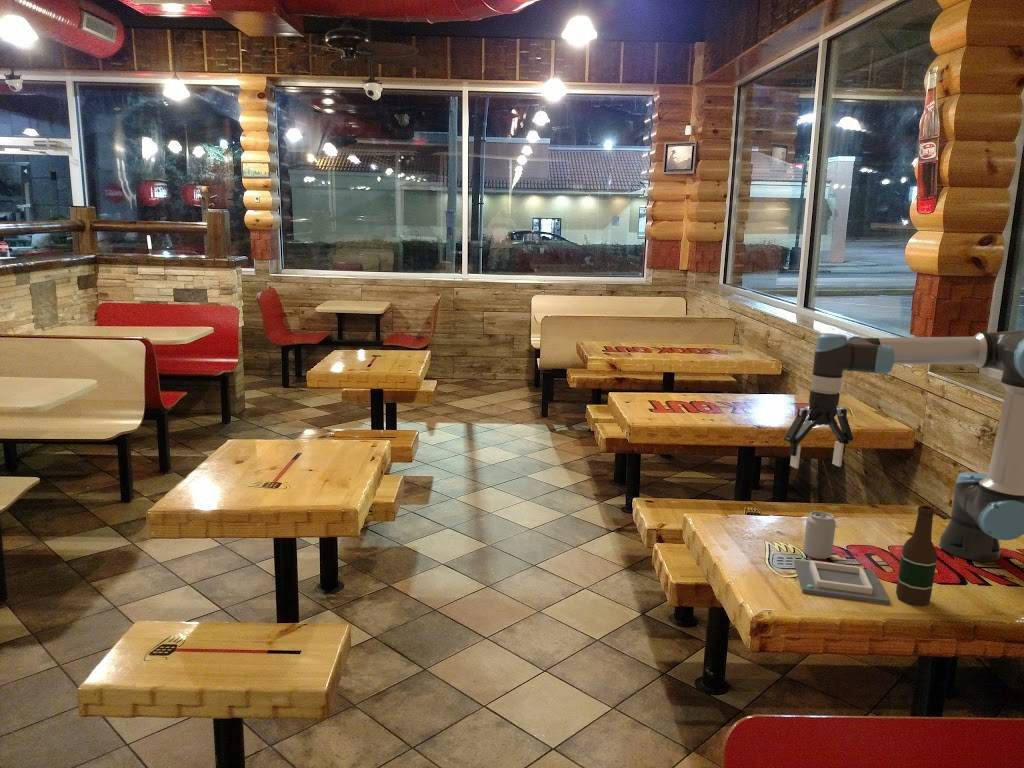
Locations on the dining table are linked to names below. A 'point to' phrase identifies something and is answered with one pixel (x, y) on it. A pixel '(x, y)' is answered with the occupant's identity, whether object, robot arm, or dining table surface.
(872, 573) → the dock
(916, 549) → the beer bottle
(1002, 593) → the dining table surface
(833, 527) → the can
